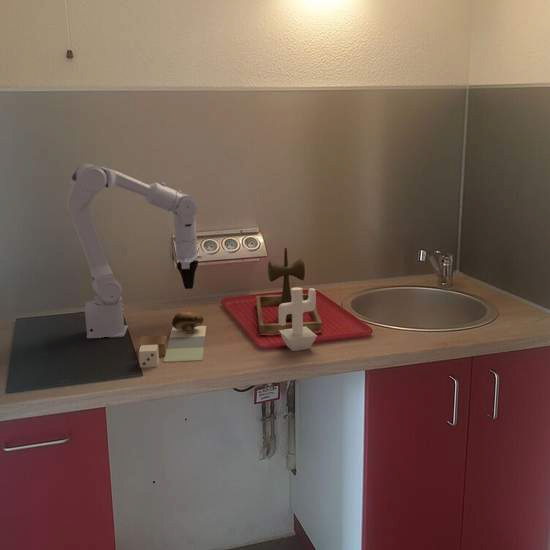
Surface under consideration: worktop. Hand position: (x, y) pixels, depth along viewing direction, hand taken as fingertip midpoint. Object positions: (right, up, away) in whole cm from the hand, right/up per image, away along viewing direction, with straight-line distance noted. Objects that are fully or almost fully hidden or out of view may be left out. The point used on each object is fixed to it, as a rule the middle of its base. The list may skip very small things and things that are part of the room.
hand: (189, 288), depth 187 cm
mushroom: (+1, -11, -7) cm, 14 cm away
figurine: (+29, -14, -19) cm, 38 cm away
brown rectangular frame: (+27, -8, +2) cm, 28 cm away
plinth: (-6, -15, -20) cm, 26 cm away
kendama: (+27, -9, +2) cm, 28 cm away
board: (+1, -14, -15) cm, 20 cm away
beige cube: (-6, -15, -26) cm, 30 cm away
